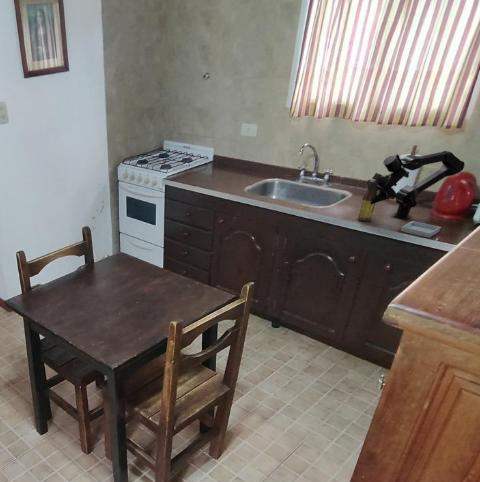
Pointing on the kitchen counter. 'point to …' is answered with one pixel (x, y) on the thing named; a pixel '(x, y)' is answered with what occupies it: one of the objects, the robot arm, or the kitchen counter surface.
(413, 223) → the grey shallow tray
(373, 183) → the sauce bottle
